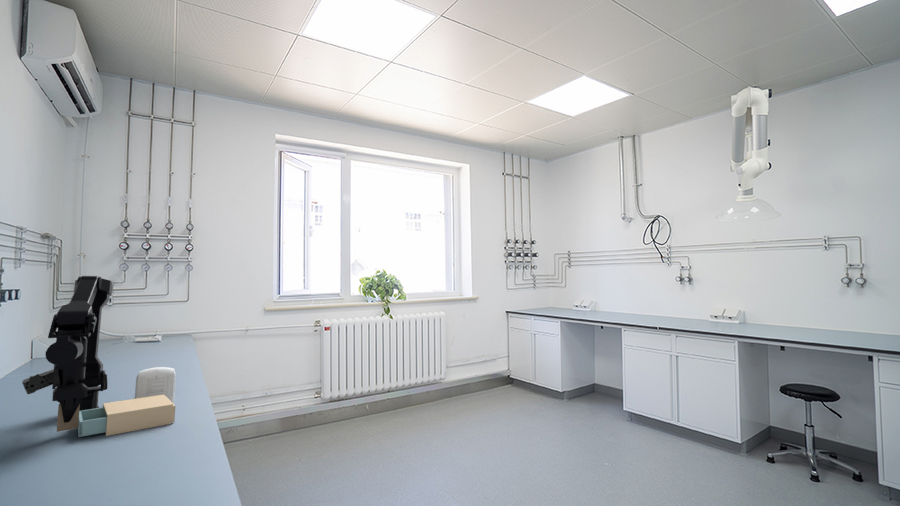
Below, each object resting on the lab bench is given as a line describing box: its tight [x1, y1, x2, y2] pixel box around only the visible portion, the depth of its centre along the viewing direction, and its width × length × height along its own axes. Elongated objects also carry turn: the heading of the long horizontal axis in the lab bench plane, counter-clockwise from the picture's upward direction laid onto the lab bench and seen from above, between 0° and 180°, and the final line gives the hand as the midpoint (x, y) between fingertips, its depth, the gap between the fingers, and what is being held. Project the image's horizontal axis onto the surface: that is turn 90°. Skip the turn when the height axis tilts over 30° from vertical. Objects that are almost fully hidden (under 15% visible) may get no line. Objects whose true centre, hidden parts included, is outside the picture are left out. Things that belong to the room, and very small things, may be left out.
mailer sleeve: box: [102, 395, 176, 437], centre depth 115 cm, size 14×15×5 cm
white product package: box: [134, 366, 177, 405], centre depth 130 cm, size 10×4×12 cm, turn 123°
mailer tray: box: [56, 403, 107, 438], centre depth 110 cm, size 12×18×7 cm, turn 133°
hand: (66, 421), depth 105 cm, fingers closed on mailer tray
